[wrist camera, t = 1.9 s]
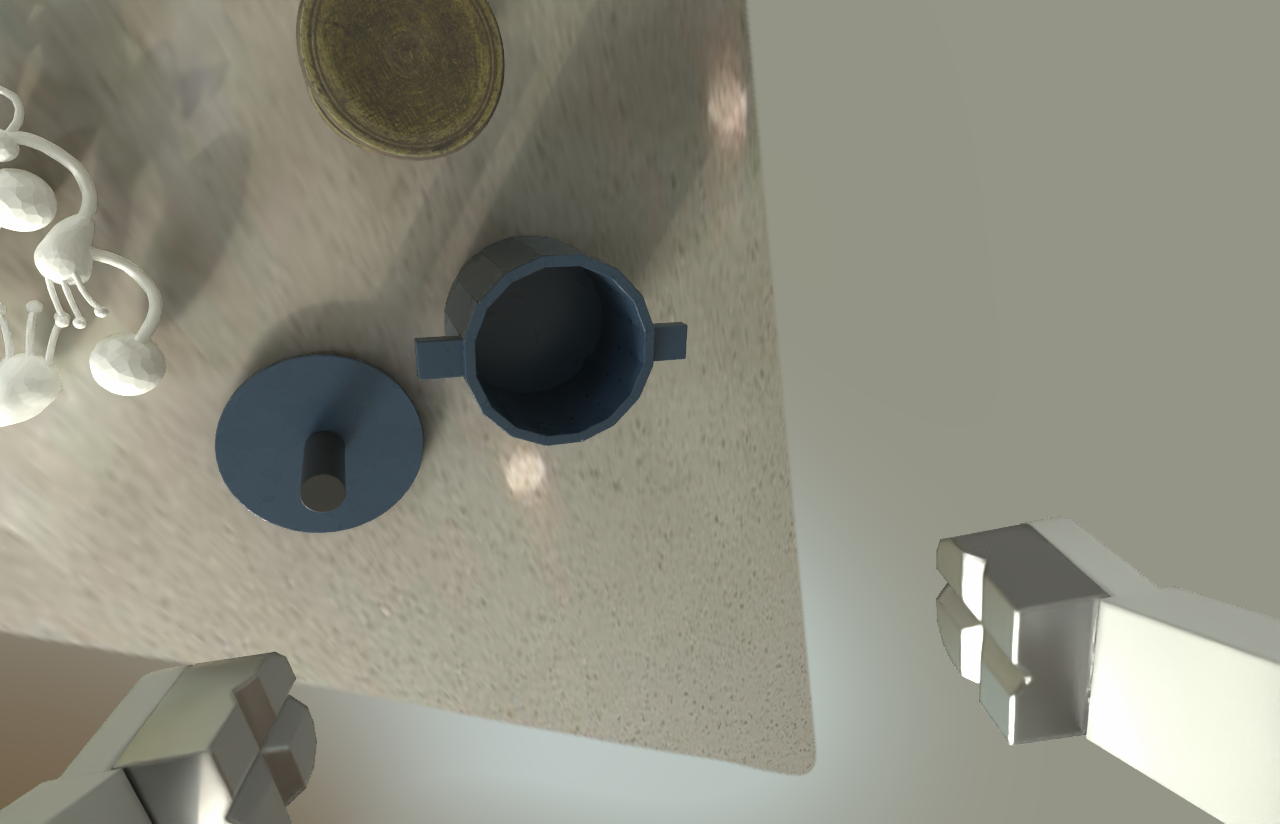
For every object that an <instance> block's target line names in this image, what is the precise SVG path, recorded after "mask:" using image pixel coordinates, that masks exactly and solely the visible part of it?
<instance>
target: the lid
mask: <svg viewBox="0 0 1280 824" xmlns="http://www.w3.org/2000/svg"><path fill="white" fill-rule="evenodd" d="M423 448H424V437H423V430H422V425H421V421H420V418H419V415H418V412H417V410H416V408H415V406H414V404H413V402H412V400H411V399H410V397H409V396H408V394H407V393H406V392H405V391H404V389H403V388H402V387H401V386H400V385H399V384H398V383H397V382H396V381H395V380H394V379H392V378H391V377H390V376H389V375H387V374H386V373H384V372H383V371H381V370H380V369H378V368H376V367H374V366H372V365H370V364H368V363H366V362H363V361H361V360H358V359H355V358H351V357H347V356H342V355H335V354H307V355H299V356H295V357H291V358H287V359H283V360H281V361H278V362H276V363H273V364H271V365H269V366H267V367H265V368H263V369H261V370H259V371H258V372H257V373H255V374H254V375H252V376H251V377H250V378H248V379H247V380H246V381H245V382H244V383H243V384H242V385H241V386H240V387H239V388H238V389H237V390H236V391H235V393H234V394H233V395H232V396H231V398H230V399H229V401H228V403H227V404H226V406H225V408H224V410H223V412H222V415H221V417H220V420H219V422H218V427H217V431H216V439H215V451H216V460H217V463H218V467H219V471H220V473H221V475H222V478H223V480H224V482H225V484H226V485H227V487H228V488H229V490H230V491H231V493H232V494H233V495H234V496H235V497H236V499H237V500H238V501H239V502H240V503H241V504H242V505H243V506H245V507H246V508H247V509H248V510H249V511H251V512H252V513H254V514H255V515H257V516H258V517H260V518H262V519H263V520H265V521H267V522H269V523H271V524H274V525H277V526H280V527H282V528H286V529H290V530H294V531H301V532H308V533H326V532H336V531H341V530H346V529H350V528H353V527H356V526H360V525H362V524H364V523H367V522H369V521H371V520H373V519H375V518H376V517H378V516H380V515H382V514H383V513H385V512H386V511H387V510H389V509H390V508H391V507H392V506H394V505H395V504H396V503H397V502H398V501H399V500H400V499H401V498H402V497H403V495H404V494H405V493H406V492H407V490H408V489H409V487H410V486H411V484H412V483H413V481H414V479H415V477H416V475H417V473H418V470H419V467H420V464H421V461H422V455H423Z"/></svg>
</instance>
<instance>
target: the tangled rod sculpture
mask: <svg viewBox="0 0 1280 824" xmlns="http://www.w3.org/2000/svg"><path fill="white" fill-rule="evenodd" d="M0 94H2V95H4V96H6V97H8V98H9V99H10V100H11V101H12V102H13V105H14V108H15V113H14V118H13V121H12V122H11V124H10V125H9V126H8V128H7V129H6V130H5V131H4V130H2V129H0V162H8V161H12V160H13V159H15V158H16V157H17V156H18V154H19V152H20V148H19V145H25V146H28V147H31V148H34V149H37V150H39V151H42V152H43V153H45V154H47V155H48V156H50V157H51V158H53V159H55V160H56V161H58V162H60V163H61V164H63V165H64V166H65V167H66V168H67V169H69V170H70V171H71V172H72V173H73V175H74V176H75V178H76V180H77V182H78V185H79V187H80V190H81V192H82V204H81V208H80V210H79V212H78V214H75V215H72V216H70V217H68V218H65V219H63V220H61V221H60V222H58V223H57V224H56V225H55V226H54V227H53V228H52V229H51V230H50V232H49V233H48V234H47V235H46V237H45V238H44V239H43V240H42V241H41V243H40V244H39V245H38V246H37V248H36V250H35V254H34V260H35V265H36V267H37V269H38V270H39V272H40V273H41V274H42V275H43V276H44V277H45V280H46V284H47V288H48V291H49V294H50V296H51V299H52V301H53V304H54V306H55V309H56V311H57V313H55V314H54V320H55V325H54V327H53V329H52V331H51V335H50V338H49V342H48V346H47V351H46V355H45V357H43V356H40V355H37V354H33V349H34V327H35V320H36V314H38V313H41V312H42V311H43V305H42V303H41V302H39V301H36V300H33V301H29V302H28V303H27V305H26V308H27V310H28V311H29V316H28V320H27V325H26V345H25V353H16V354H14V346H13V340H12V336H11V333H10V329H9V325H8V323H7V321H6V319H5V317H4V314H5V313H6V306H5V305H4V304H2V303H0V327H1V329H2V333H3V337H4V343H5V351H6V357H5V358H3V359H2V360H1V361H0V427H3V426H7V425H11V424H15V423H19V422H23V421H25V420H28V419H30V418H32V417H34V416H35V415H37V414H39V413H40V412H41V411H42V410H43V409H44V408H45V407H47V406H48V405H49V404H50V403H51V402H52V401H53V400H54V399H55V398H56V397H57V396H58V394H59V393H60V391H61V388H62V378H61V374H60V371H59V370H58V368H57V366H56V365H55V364H54V363H53V362H52V360H53V356H54V351H55V347H56V342H57V338H58V335H59V332H60V330H61V327H67V326H68V325H69V323H70V322H69V321H70V319H71V318H70V315H69V314H68V313H66V312H64V311H63V309H62V307H61V304H60V302H59V300H58V297H57V294H56V291H55V287H54V283H57V284H61V285H62V288H63V291H64V294H65V296H66V298H67V300H68V302H69V304H70V306H71V309H72V311H73V313H74V315H75V317H76V318H75V319H74V320H73V325H74V326H75V327H76V328H79V329H82V328H85V327H86V326H87V321H86V320H85V319H84V318H83V317H82V315H81V313H80V311H79V309H78V307H77V305H76V303H75V301H74V299H73V296H72V293H71V291H70V288H69V285H74V284H76V285H77V287H78V289H79V291H80V292H81V293H82V295H83V296H84V298H85V299H86V301H87V302H88V303H89V304H90V305H91V306H93V307H94V308H95V310H94V313H95V315H96V316H98V317H101V318H103V317H106V316H107V315H108V313H109V311H108V309H107V308H106V307H104V306H99V305H98V304H97V303H96V302H95V301H94V300H93V299H92V297H91V296H90V294H89V293H88V291H87V290H86V288H85V287H84V284H83V283H85V282H87V281H88V280H89V279H90V275H91V272H92V260H96V261H99V262H103V263H107V264H110V265H112V266H115V267H117V268H120V269H122V270H124V271H125V272H126V273H127V274H128V275H130V276H131V277H132V278H133V279H135V280H136V281H137V282H138V284H139V285H140V286H141V287H142V289H143V290H144V291H145V292H146V294H147V296H148V300H149V311H148V314H147V317H146V319H145V321H144V323H143V325H142V326H141V328H140V330H139V331H138V333H137V334H135V333H119V334H114V335H111V336H108V337H107V338H105V339H103V340H102V341H101V342H99V343H98V344H97V346H96V347H95V348H94V350H93V352H92V354H91V356H90V361H89V362H90V369H91V372H92V375H93V377H94V379H95V380H96V381H97V383H98V384H99V385H101V386H102V387H104V388H105V389H107V390H109V391H110V392H112V393H116V394H119V395H125V396H133V395H139V394H143V393H146V392H148V391H150V390H151V389H153V388H154V387H156V386H157V385H158V384H159V383H160V381H161V380H162V378H163V376H164V374H165V370H166V361H165V357H164V354H163V352H162V350H161V349H160V348H159V346H158V345H157V344H156V343H154V342H153V341H152V340H150V338H151V336H152V335H153V333H154V331H155V330H156V328H157V326H158V324H159V322H160V319H161V316H162V310H163V300H162V297H161V293H160V291H159V289H158V288H157V286H156V285H155V283H154V282H153V280H152V279H151V278H150V277H149V276H148V275H147V274H146V273H145V272H144V271H143V270H142V269H141V268H140V267H139V266H137V265H136V264H134V263H133V262H131V261H130V260H128V259H127V258H124V257H122V256H119V255H117V254H114V253H112V252H108V251H104V250H101V249H97V248H94V247H92V240H93V236H94V232H95V222H94V221H93V217H94V216H95V213H96V209H97V205H98V201H97V192H96V189H95V187H94V184H93V182H92V179H91V177H90V175H89V173H88V172H87V170H86V168H85V167H84V166H83V165H82V164H81V163H80V162H79V161H78V160H77V159H76V158H74V157H73V156H71V155H70V154H69V153H67V152H66V151H65V150H63V149H62V148H60V147H59V146H57V145H55V144H53V143H52V142H50V141H48V140H46V139H44V138H42V137H40V136H37V135H34V134H32V133H28V132H23V131H19V129H20V127H21V126H22V124H23V122H24V115H25V108H24V105H23V103H22V101H21V99H20V98H19V97H18V96H17V95H16V94H15V93H14V92H13V91H11V90H8V89H6V88H4V87H2V86H0ZM56 211H57V200H56V196H55V194H54V192H53V191H52V189H51V188H50V186H49V185H48V184H47V183H46V182H45V181H44V180H43V179H41V178H40V177H38V176H37V175H35V174H32V173H30V172H28V171H25V170H22V169H14V168H3V169H0V229H1V227H4V228H6V229H10V230H14V231H21V232H28V231H35V230H39V229H41V228H43V227H45V226H46V225H48V224H49V223H50V222H51V221H52V220H53V219H54V217H55V215H56ZM53 282H54V283H53Z"/></svg>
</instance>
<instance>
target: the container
mask: <svg viewBox="0 0 1280 824" xmlns="http://www.w3.org/2000/svg"><path fill="white" fill-rule="evenodd" d="M296 40H297V50H298V56H299V61H300V65H301V68H302V72H303V74H304V77H305V82H306V86H307V89H308V92H309V95H310V98H311V100H312V102H313V104H314V106H315V108H316V109H317V111H318V113H319V114H320V116H321V117H322V118H323V120H324V121H325V122H326V123H327V124H328V125H329V126H330V127H331V128H332V129H333V130H334V131H335V132H336V133H337V134H338V135H340V136H341V137H342V138H344V139H345V140H347V141H348V142H350V143H352V144H354V145H356V146H358V147H360V148H362V149H365V150H368V151H372V152H376V153H380V154H383V155H386V156H389V157H393V158H397V159H403V160H416V161H420V160H430V159H436V158H440V157H443V156H447V155H449V154H452V153H454V152H456V151H458V150H460V149H462V148H463V147H465V146H466V145H467V144H469V143H470V142H471V141H472V140H474V139H475V138H476V137H477V136H478V135H479V134H480V133H481V131H482V130H483V129H484V128H485V126H486V125H487V124H488V122H489V121H490V119H491V117H492V115H493V113H494V111H495V109H496V107H497V104H498V102H499V99H500V96H501V92H502V87H503V81H504V66H505V65H504V49H503V43H502V38H501V34H500V30H499V27H498V24H497V21H496V18H495V16H494V14H493V12H492V9H491V7H490V6H489V4H488V2H487V0H301V1H300V5H299V10H298V15H297V25H296Z"/></svg>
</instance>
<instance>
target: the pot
mask: <svg viewBox="0 0 1280 824" xmlns="http://www.w3.org/2000/svg"><path fill="white" fill-rule="evenodd" d="M444 312H445V320H444V326H445V333H446V336H443V337H426V338H415V340H414V341H415V354H416V366H417V376H418V379H419V380H424V379H437V378H449V377H462V376H463V377H464V379H465V381H466V383H467V385H468V387H469V388H470V390H471V392H472V394H473V396H474V398H475V400H476V402H477V404H478V406H479V408H480V409H481V411H482V413H483V414H484V415H485V416H486V417H487V418H489V419H490V420H491V421H492V422H494V423H495V424H496V425H497V426H499V427H500V428H501V429H502V430H504V431H505V432H506V433H508V434H509V435H510V436H512V437H515V438H519V439H523V440H526V441H530V442H534V443H537V444H541V445H547V446H549V445H557V444H566V443H574V442H581V441H584V440H586V439H588V438H590V437H592V436H594V435H596V434H598V433H600V432H602V431H604V430H606V429H608V428H610V427H612V426H614V424H616V423H617V421H618V420H619V419H620V418H621V417H622V416H623V415H624V414H625V413H626V412H627V411H628V410H629V409H630V407H631V406H632V405H633V404H634V403H635V402H636V401H637V400H638V398H639V397H640V395H641V393H642V390H643V388H644V386H645V383H646V381H647V379H648V376H649V374H650V371H651V369H652V367H653V361H663V360H676V359H685V358H686V340H687V325H686V324H684V323H682V322H673V323H657V324H653V323H652V321H651V318H650V315H649V312H648V309H647V307H646V304H645V301H644V298H643V296H642V294H641V293H640V292H639V291H638V290H637V289H636V288H635V287H634V286H633V285H632V284H631V283H630V282H629V281H628V280H627V279H626V277H625V276H624V275H623V274H622V273H621V272H620V271H619V270H618V269H616V268H614V267H612V266H610V265H608V264H606V263H604V262H602V261H600V260H598V259H596V258H594V257H592V256H590V255H588V254H585V253H583V252H581V251H579V250H577V249H575V248H573V247H570V246H568V245H565V244H563V243H561V242H558V241H556V240H553V239H551V238H549V237H538V236H521V237H511V238H509V239H505V240H502V241H500V242H497V243H494V244H492V245H491V246H489V247H487V248H485V249H483V250H482V251H480V252H479V253H478V254H476V255H475V256H474V257H473V258H472V259H471V260H470V261H469V262H468V263H467V264H466V265H465V266H464V267H463V269H462V270H461V271H460V273H459V274H458V276H457V277H456V279H455V281H454V283H453V285H452V287H451V289H450V292H449V295H448V298H447V302H446V307H445V311H444Z"/></svg>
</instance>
